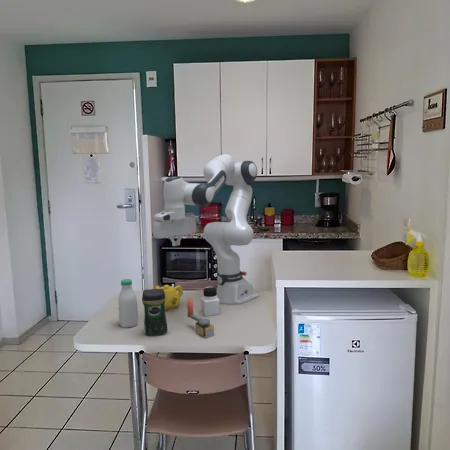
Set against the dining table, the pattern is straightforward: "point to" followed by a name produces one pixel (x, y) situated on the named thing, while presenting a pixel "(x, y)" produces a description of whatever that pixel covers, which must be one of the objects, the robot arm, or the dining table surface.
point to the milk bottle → (127, 305)
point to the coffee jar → (154, 312)
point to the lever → (195, 317)
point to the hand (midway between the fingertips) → (176, 245)
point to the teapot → (171, 296)
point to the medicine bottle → (210, 302)
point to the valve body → (204, 330)
